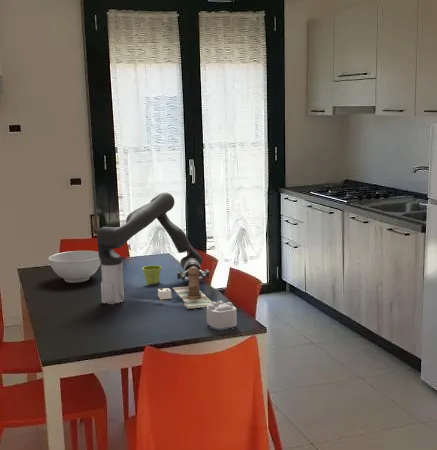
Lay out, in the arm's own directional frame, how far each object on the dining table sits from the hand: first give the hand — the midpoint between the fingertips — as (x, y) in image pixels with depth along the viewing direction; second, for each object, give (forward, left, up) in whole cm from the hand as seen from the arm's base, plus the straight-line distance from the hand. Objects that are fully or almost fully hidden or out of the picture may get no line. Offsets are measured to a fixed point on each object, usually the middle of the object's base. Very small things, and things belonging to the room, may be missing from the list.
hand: (193, 278), depth 282 cm
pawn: (+1, 0, -9) cm, 9 cm away
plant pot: (+18, +32, -11) cm, 38 cm away
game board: (+4, +3, -10) cm, 12 cm away
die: (-3, +13, -11) cm, 17 cm away
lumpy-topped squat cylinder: (-24, -24, -11) cm, 36 cm away
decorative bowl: (+14, +74, -11) cm, 76 cm away
